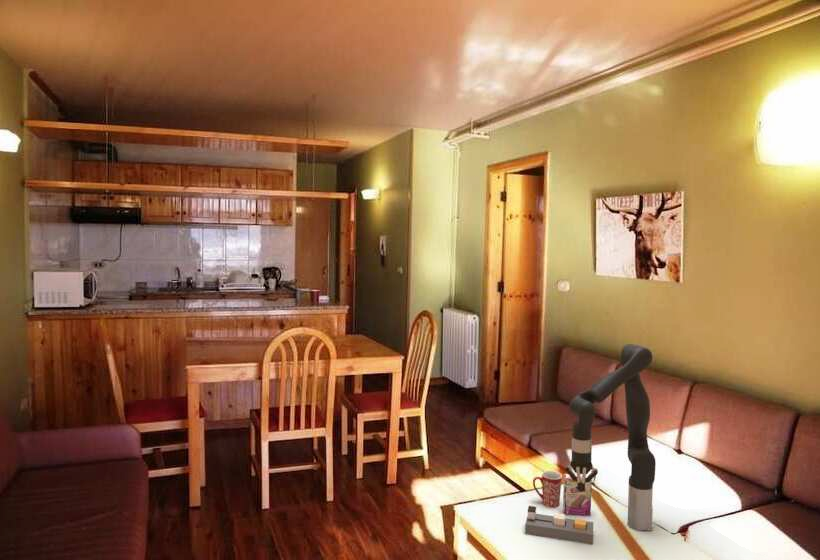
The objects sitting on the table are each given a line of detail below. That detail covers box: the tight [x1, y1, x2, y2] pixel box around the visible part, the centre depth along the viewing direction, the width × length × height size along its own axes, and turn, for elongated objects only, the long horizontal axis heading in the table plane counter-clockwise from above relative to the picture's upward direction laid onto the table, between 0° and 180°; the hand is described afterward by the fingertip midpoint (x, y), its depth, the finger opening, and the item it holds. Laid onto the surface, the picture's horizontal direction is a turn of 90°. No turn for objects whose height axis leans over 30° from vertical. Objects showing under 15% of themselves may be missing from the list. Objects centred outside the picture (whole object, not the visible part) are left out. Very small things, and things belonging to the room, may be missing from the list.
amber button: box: [574, 518, 587, 530], centre depth 229 cm, size 4×4×3 cm
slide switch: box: [527, 505, 537, 520], centre depth 235 cm, size 3×4×6 cm
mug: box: [532, 470, 563, 508], centre depth 256 cm, size 13×9×14 cm
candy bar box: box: [562, 473, 593, 517], centre depth 247 cm, size 11×5×16 cm, turn 84°
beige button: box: [553, 512, 566, 527], centre depth 231 cm, size 4×4×3 cm
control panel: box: [524, 513, 594, 545], centre depth 232 cm, size 26×10×4 cm, turn 71°
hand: (581, 491), depth 227 cm, fingers closed
